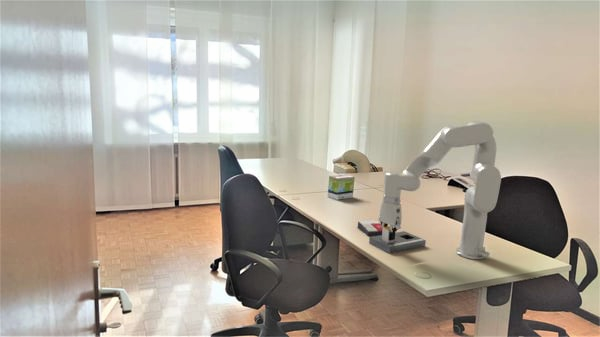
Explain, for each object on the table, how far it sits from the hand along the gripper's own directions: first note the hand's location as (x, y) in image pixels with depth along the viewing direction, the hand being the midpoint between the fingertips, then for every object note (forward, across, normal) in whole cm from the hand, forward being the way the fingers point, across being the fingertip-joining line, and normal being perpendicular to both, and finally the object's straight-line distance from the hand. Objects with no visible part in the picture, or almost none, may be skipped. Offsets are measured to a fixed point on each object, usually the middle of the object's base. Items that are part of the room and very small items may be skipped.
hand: (388, 237), depth 194 cm
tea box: (+5, +86, -35) cm, 93 cm away
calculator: (+5, +20, -8) cm, 23 cm away
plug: (+3, 0, 0) cm, 3 cm away
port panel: (+5, 0, -6) cm, 8 cm away
